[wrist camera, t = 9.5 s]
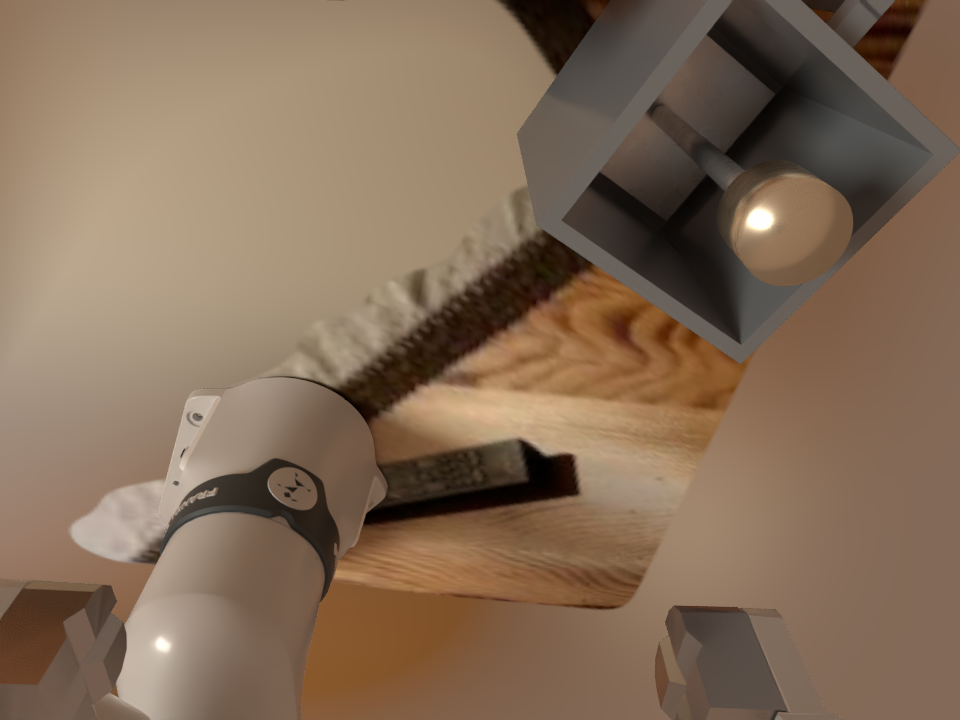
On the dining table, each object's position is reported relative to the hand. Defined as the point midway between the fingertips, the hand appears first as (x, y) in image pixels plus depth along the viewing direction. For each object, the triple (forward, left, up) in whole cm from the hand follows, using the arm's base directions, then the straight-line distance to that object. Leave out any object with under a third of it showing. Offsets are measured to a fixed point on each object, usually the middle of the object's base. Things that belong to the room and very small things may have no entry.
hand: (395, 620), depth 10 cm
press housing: (+8, -11, -41) cm, 43 cm away
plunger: (+7, -11, -40) cm, 42 cm away
